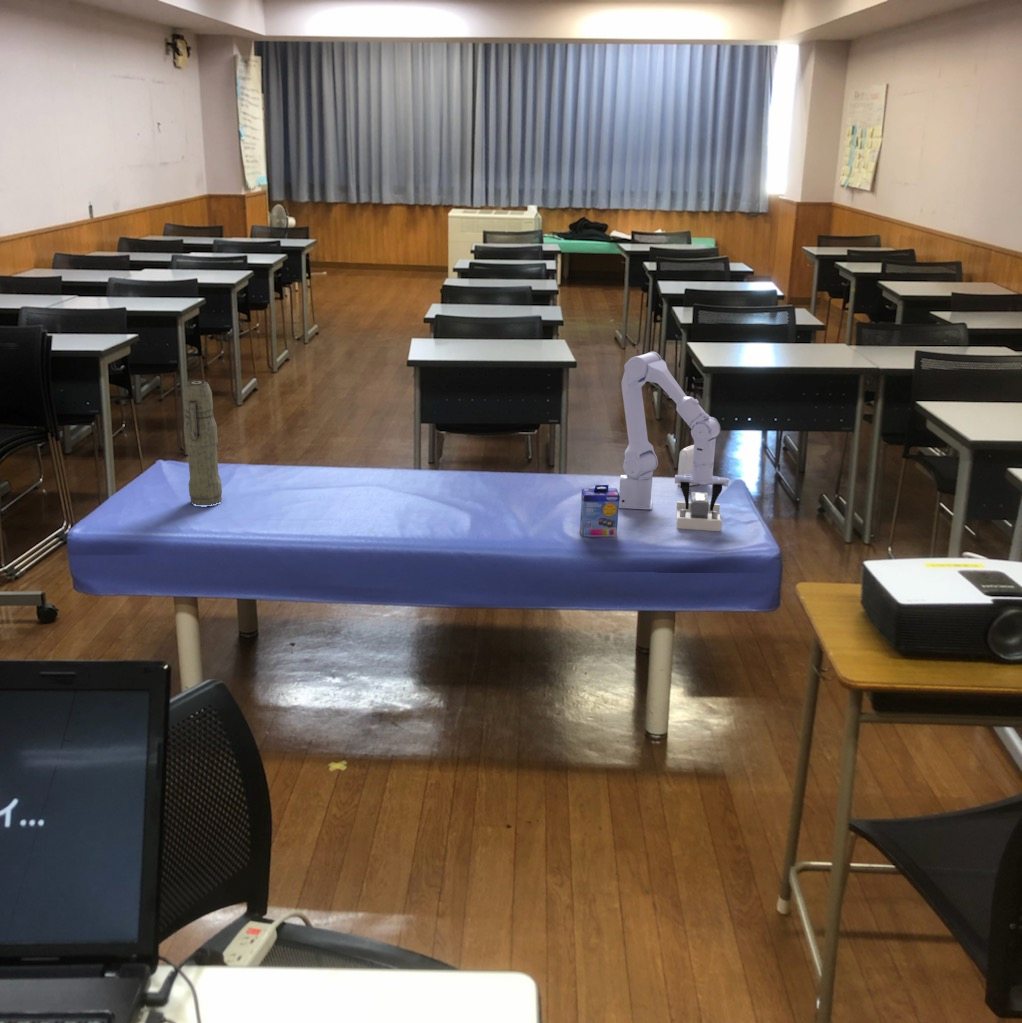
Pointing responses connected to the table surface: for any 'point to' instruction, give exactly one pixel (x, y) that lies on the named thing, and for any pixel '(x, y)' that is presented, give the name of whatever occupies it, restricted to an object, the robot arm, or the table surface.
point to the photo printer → (686, 461)
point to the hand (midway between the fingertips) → (699, 508)
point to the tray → (698, 523)
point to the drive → (699, 505)
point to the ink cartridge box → (599, 512)
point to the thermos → (201, 444)
